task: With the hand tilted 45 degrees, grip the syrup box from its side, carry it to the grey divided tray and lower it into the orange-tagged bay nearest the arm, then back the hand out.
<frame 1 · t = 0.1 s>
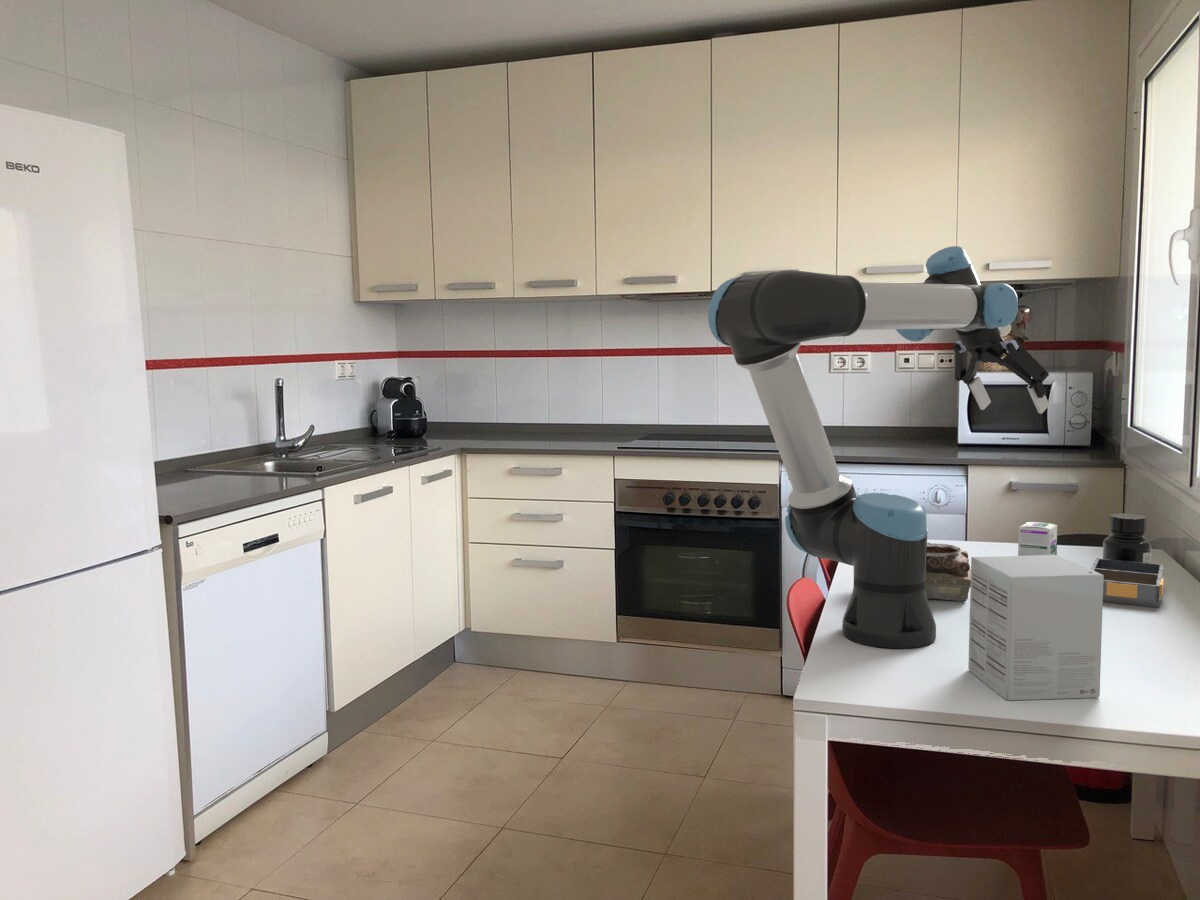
hand: (1014, 407, 191), 36 cm above the table, tool tilted 35°, fingers open, 13 cm apart
decorative box: (917, 598, 184), on the table
grey divided tray: (1125, 591, 185), on the table
ink bottle: (1125, 572, 201), on the table
syrup box: (1036, 600, 181), on the table
supplement box: (1030, 684, 137), on the table
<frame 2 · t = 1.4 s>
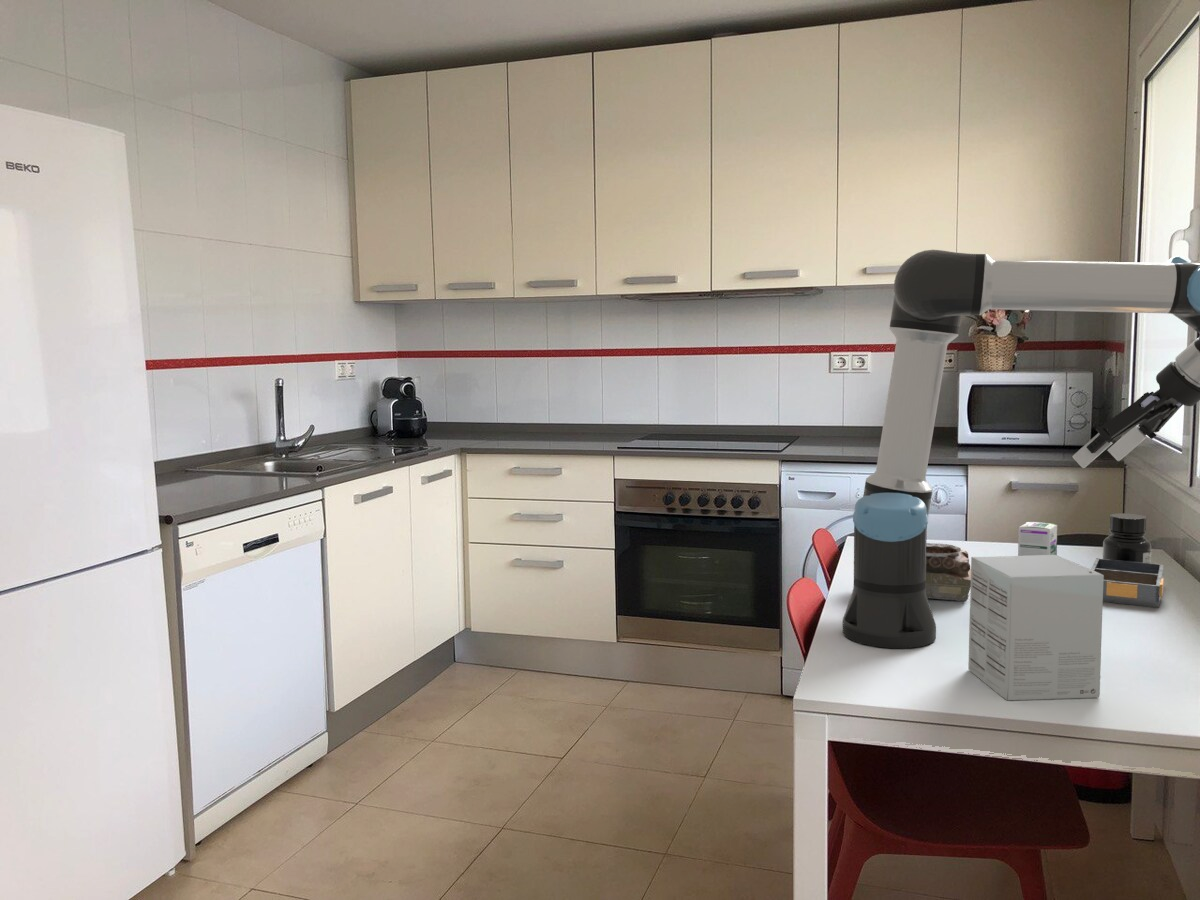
hand: (1095, 458, 170), 28 cm above the table, tool tilted 45°, fingers open, 13 cm apart
nothing on the table moved.
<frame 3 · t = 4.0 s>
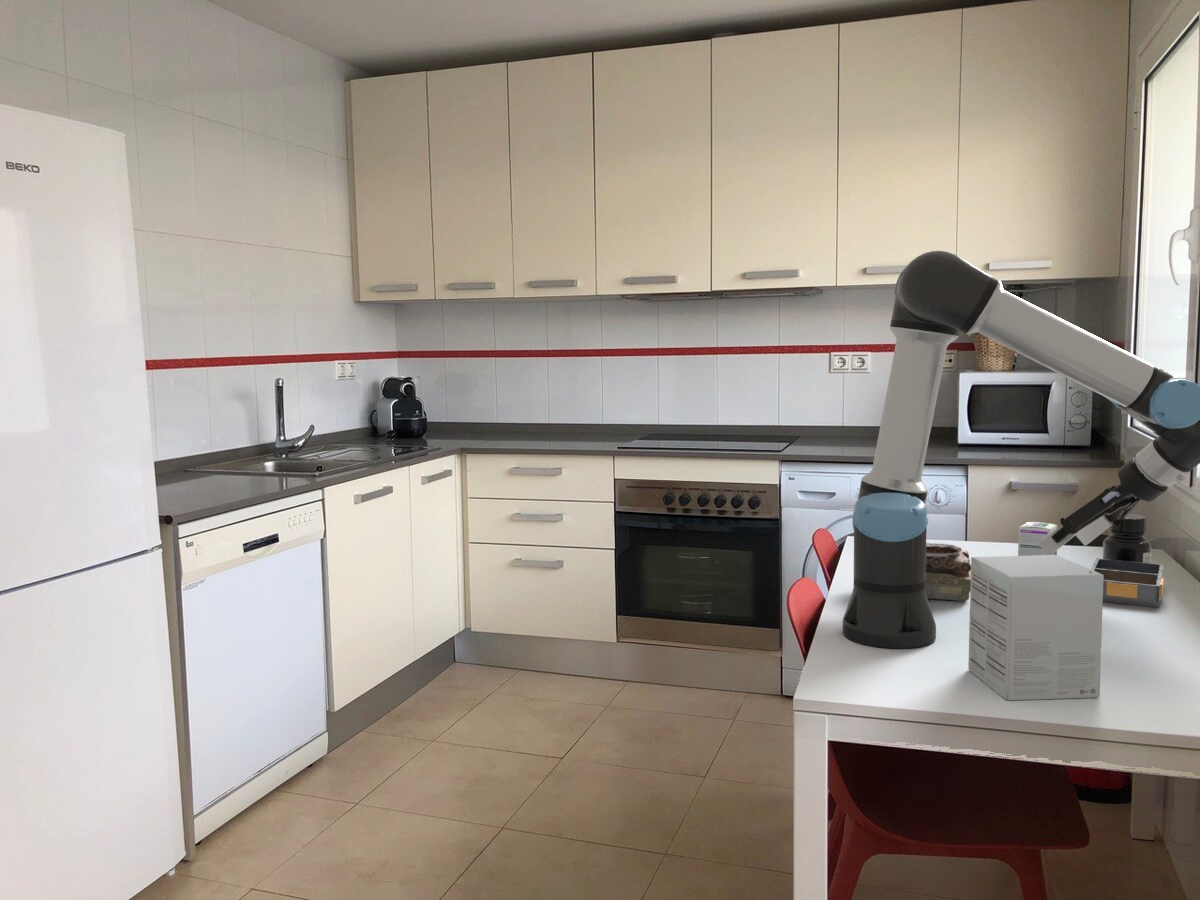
hand: (1062, 545, 177), 11 cm above the table, tool tilted 45°, fingers open, 13 cm apart
nothing on the table moved.
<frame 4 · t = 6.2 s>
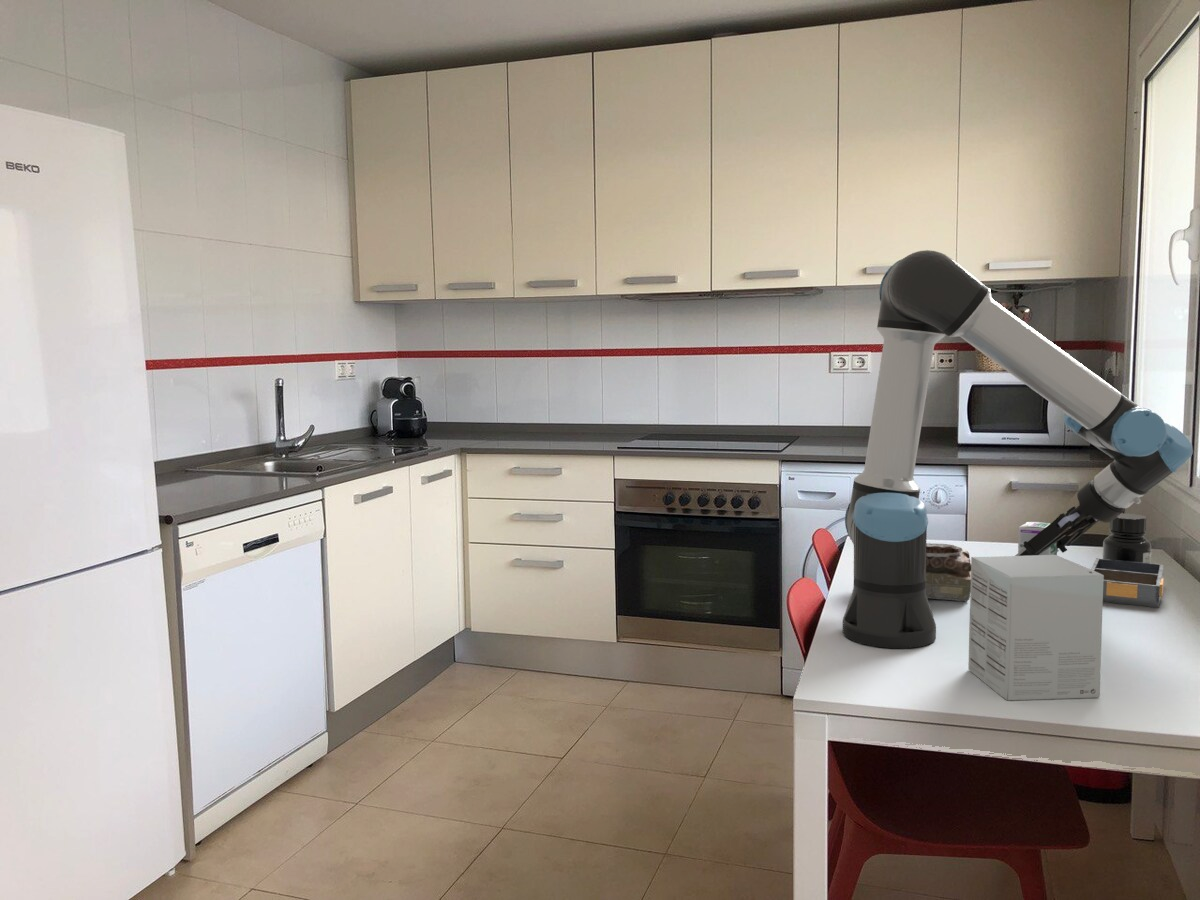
hand: (1019, 567, 183), 5 cm above the table, tool tilted 45°, fingers closed on syrup box, 7 cm apart
syrup box: (1036, 600, 181), on the table, touching gripper
everything else where it was.
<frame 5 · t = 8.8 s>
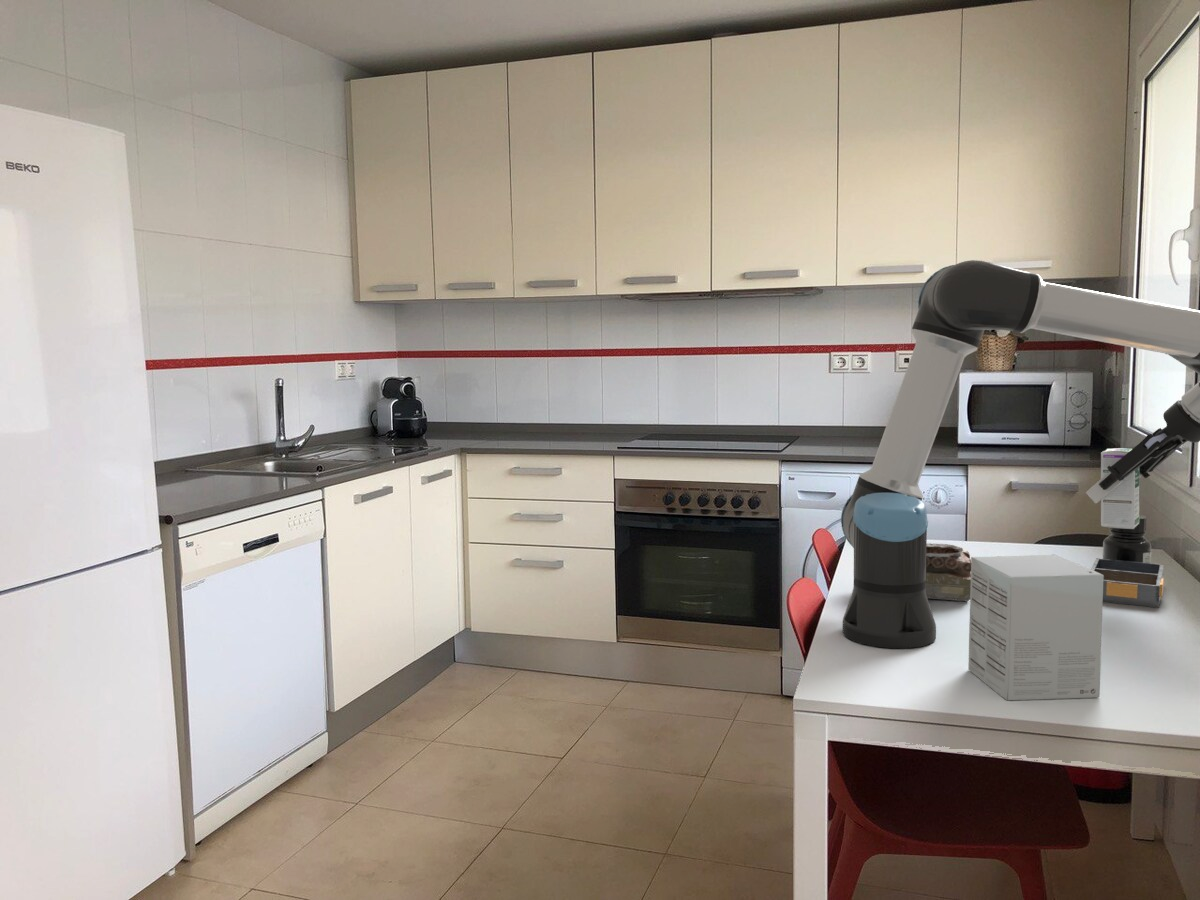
hand: (1100, 495, 182), 19 cm above the table, tool tilted 45°, fingers closed on syrup box, 7 cm apart
syrup box: (1119, 526, 179), point 14 cm above the table, touching gripper
everything else where it was.
when the fingers open (8 cm above the table, at t = 11.3 s): syrup box drops 1 cm, resting on grey divided tray.
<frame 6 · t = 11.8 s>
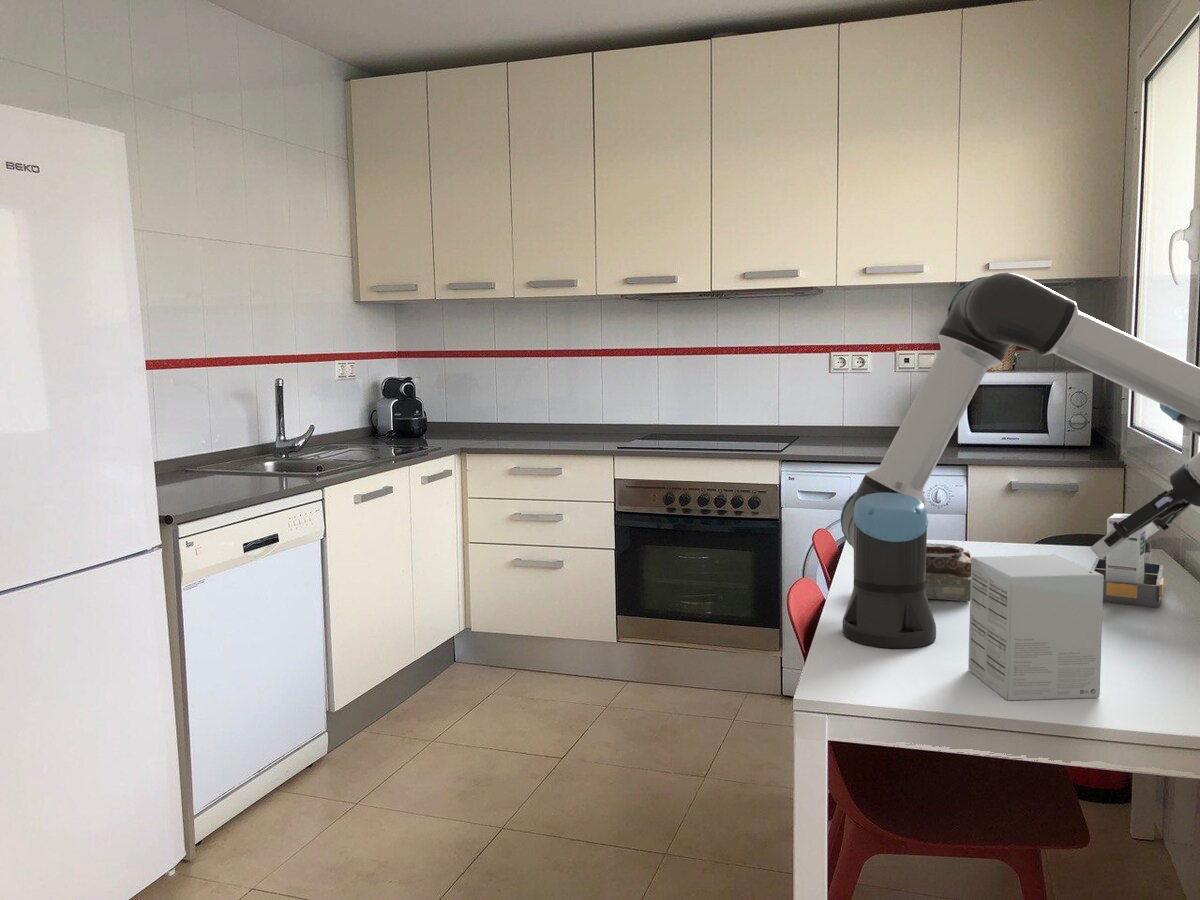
hand: (1112, 548, 182), 9 cm above the table, tool tilted 45°, fingers open, 13 cm apart
syrup box: (1123, 591, 181), point 1 cm above the table, touching grey divided tray
everything else where it was.
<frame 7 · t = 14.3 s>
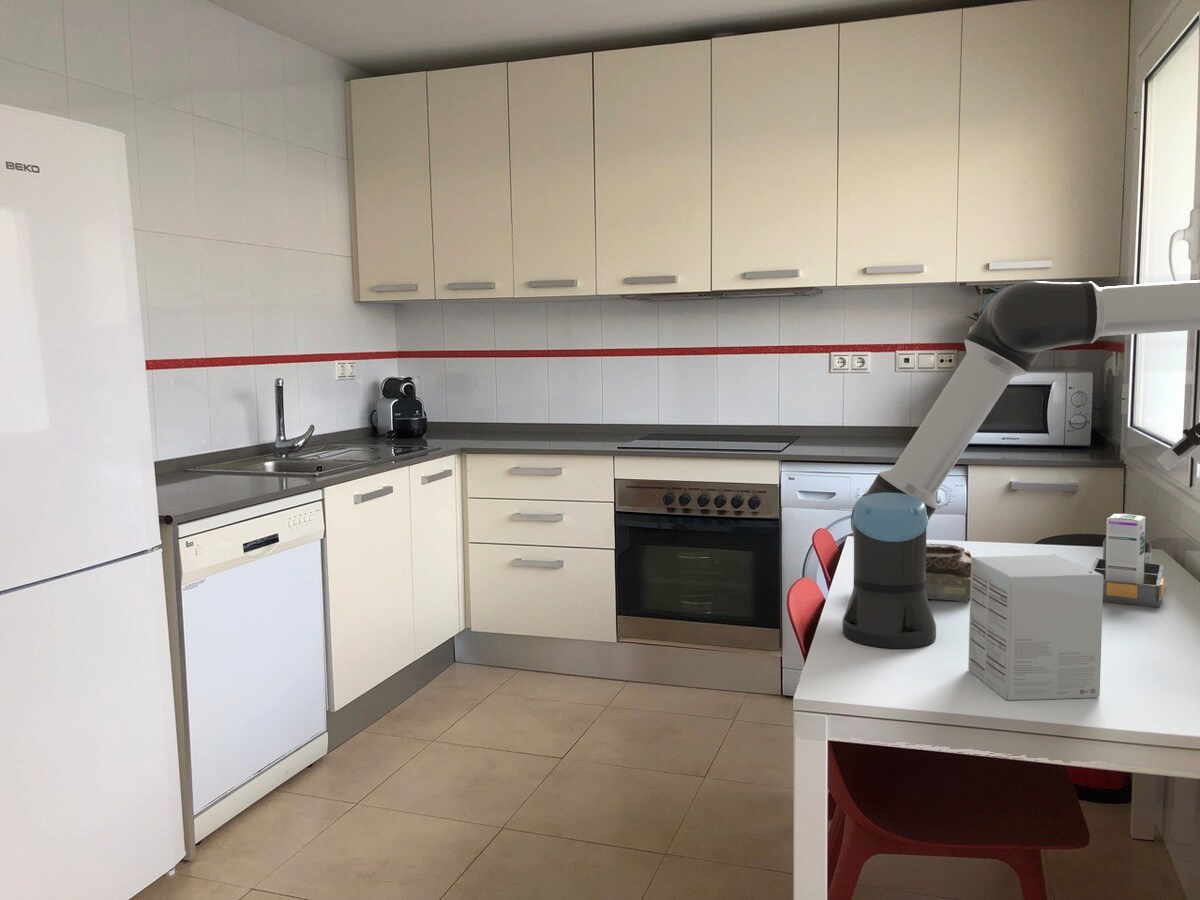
hand: (1178, 461, 171), 27 cm above the table, tool tilted 45°, fingers open, 13 cm apart
nothing on the table moved.
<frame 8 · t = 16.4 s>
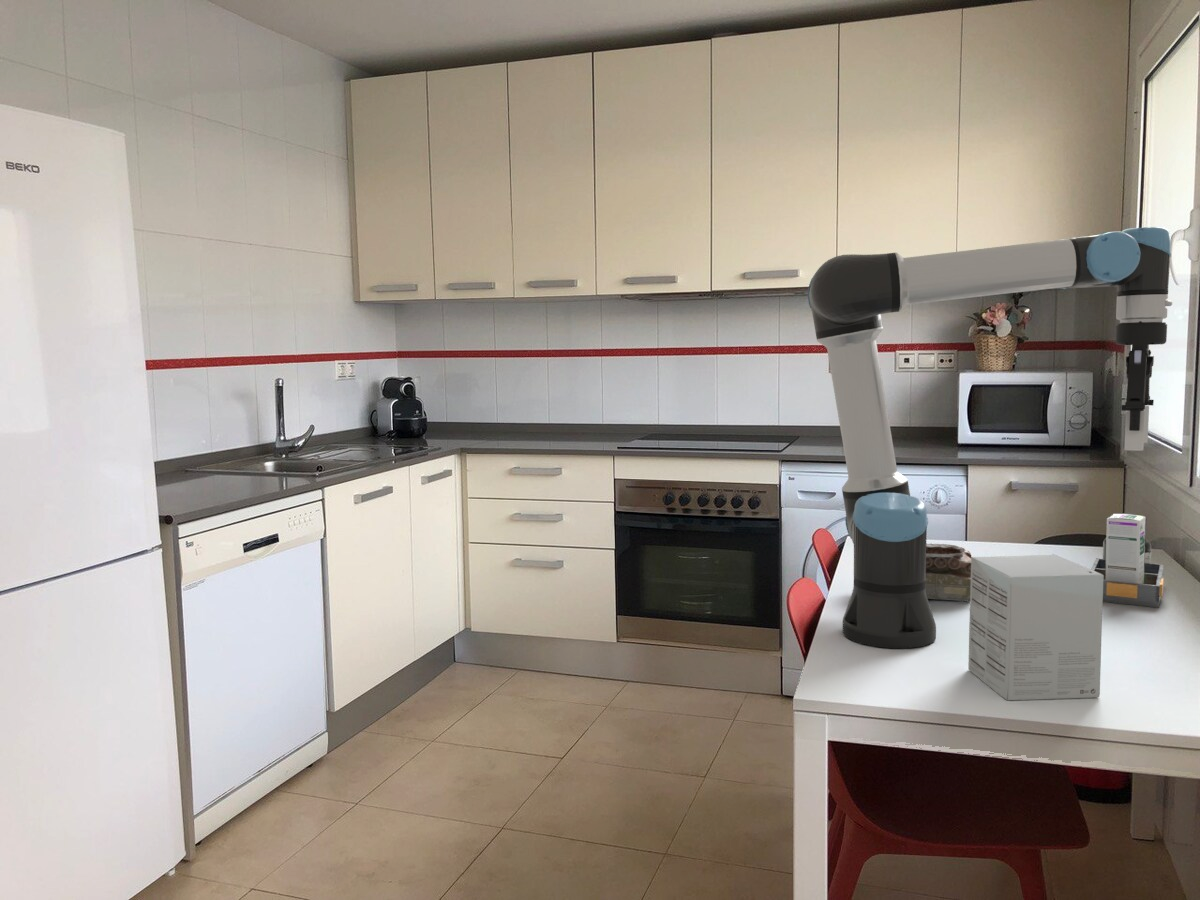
hand: (1136, 446, 162), 31 cm above the table, tool pointing down, fingers open, 13 cm apart
at the end: syrup box inside the target area on the grey divided tray (0.0 cm from its centre), point 1.0 cm above the grey divided tray's base; syrup box tilted 0°; the gripper is holding nothing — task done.
